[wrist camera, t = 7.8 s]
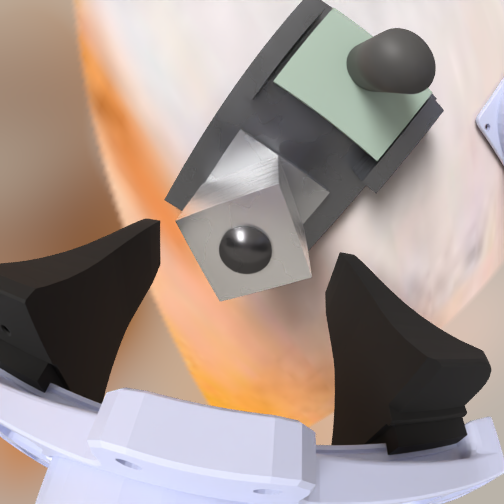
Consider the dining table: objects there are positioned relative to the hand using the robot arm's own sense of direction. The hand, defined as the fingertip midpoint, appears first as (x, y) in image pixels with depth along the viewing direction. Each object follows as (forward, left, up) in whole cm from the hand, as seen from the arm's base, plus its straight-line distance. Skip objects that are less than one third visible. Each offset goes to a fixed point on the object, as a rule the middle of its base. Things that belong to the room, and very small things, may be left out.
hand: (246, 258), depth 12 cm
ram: (0, -8, -6) cm, 10 cm away
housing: (0, 0, -6) cm, 6 cm away
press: (0, -3, -7) cm, 8 cm away
